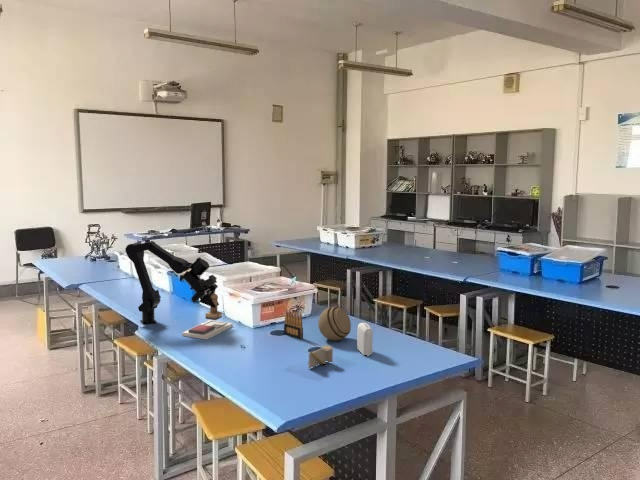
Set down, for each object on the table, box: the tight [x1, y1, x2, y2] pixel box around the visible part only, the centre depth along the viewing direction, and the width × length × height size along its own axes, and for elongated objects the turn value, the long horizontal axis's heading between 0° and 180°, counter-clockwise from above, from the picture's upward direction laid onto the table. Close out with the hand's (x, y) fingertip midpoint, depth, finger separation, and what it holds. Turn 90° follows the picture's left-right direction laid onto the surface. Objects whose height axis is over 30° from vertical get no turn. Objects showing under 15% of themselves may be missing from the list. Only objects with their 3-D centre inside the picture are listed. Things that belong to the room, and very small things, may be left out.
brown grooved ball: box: [318, 306, 352, 342], centre depth 244 cm, size 15×15×15 cm
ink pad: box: [188, 324, 215, 335], centre depth 249 cm, size 9×8×1 cm
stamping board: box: [181, 319, 234, 340], centre depth 254 cm, size 22×13×2 cm, turn 159°
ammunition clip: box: [283, 308, 304, 340], centre depth 248 cm, size 11×2×12 cm, turn 48°
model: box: [308, 345, 334, 369], centre depth 212 cm, size 3×11×8 cm, turn 141°
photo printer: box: [356, 322, 374, 356], centre depth 228 cm, size 10×4×12 cm, turn 14°
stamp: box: [205, 293, 223, 321], centre depth 258 cm, size 6×6×12 cm
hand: (216, 306), depth 257 cm, fingers closed on stamp, 3 cm apart
